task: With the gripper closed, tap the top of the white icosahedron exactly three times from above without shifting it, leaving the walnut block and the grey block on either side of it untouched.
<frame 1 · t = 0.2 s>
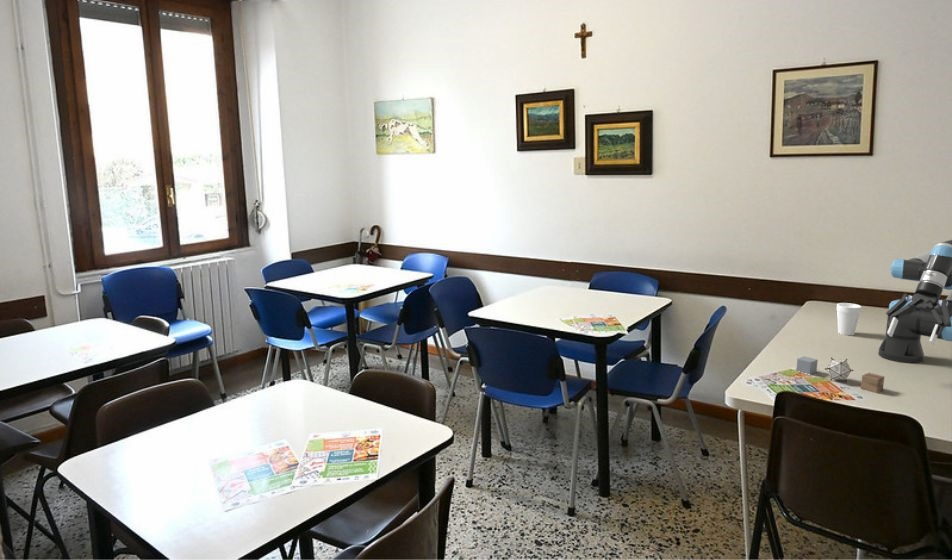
hand: (909, 338, 231), 16 cm above the table, tool tilted 35°, fingers open, 13 cm apart
grey block: (806, 371, 246), on the table
walnut block: (871, 389, 227), on the table
foam cup: (845, 334, 294), on the table
white icosahedron: (837, 380, 236), on the table
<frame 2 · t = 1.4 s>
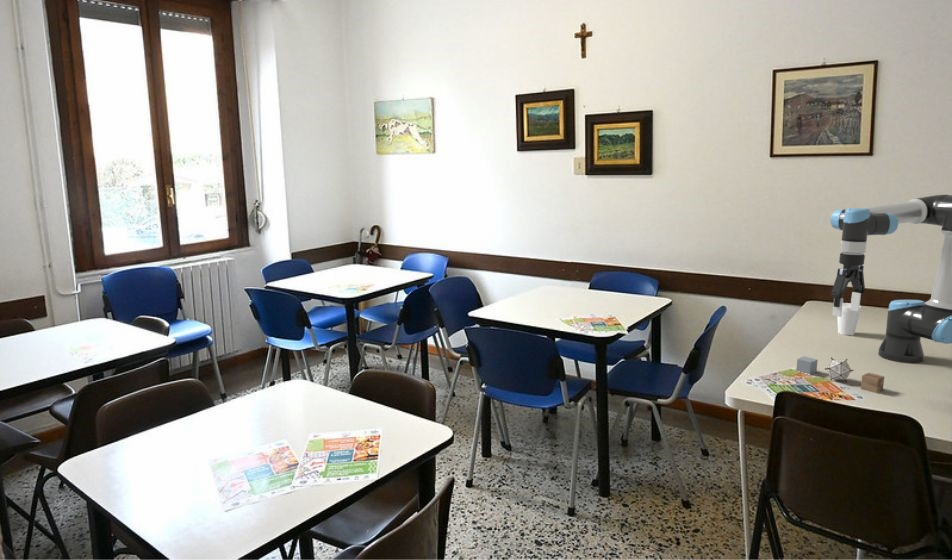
hand: (845, 313, 231), 25 cm above the table, tool pointing down, fingers open, 12 cm apart
nothing on the table moved.
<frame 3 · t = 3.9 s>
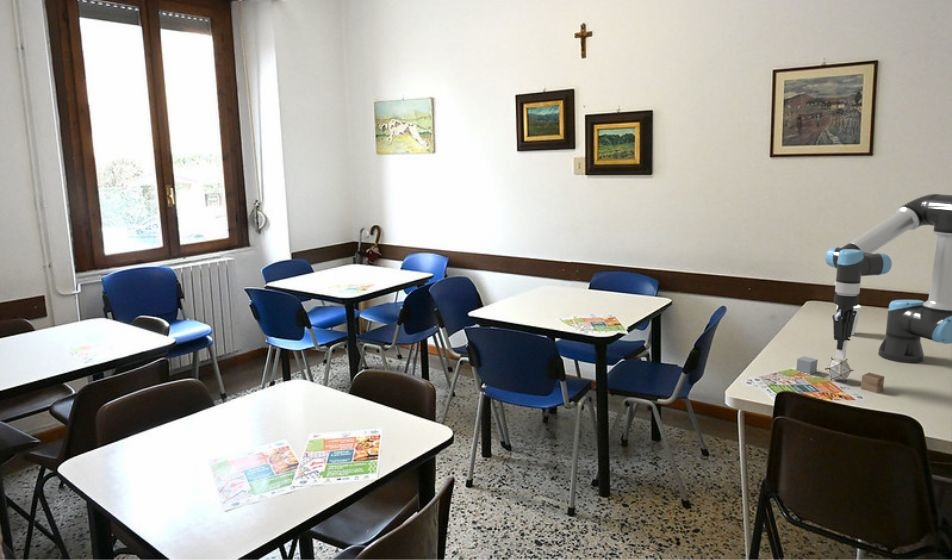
hand: (840, 357, 235), 8 cm above the table, tool pointing down, fingers closed
nothing on the table moved.
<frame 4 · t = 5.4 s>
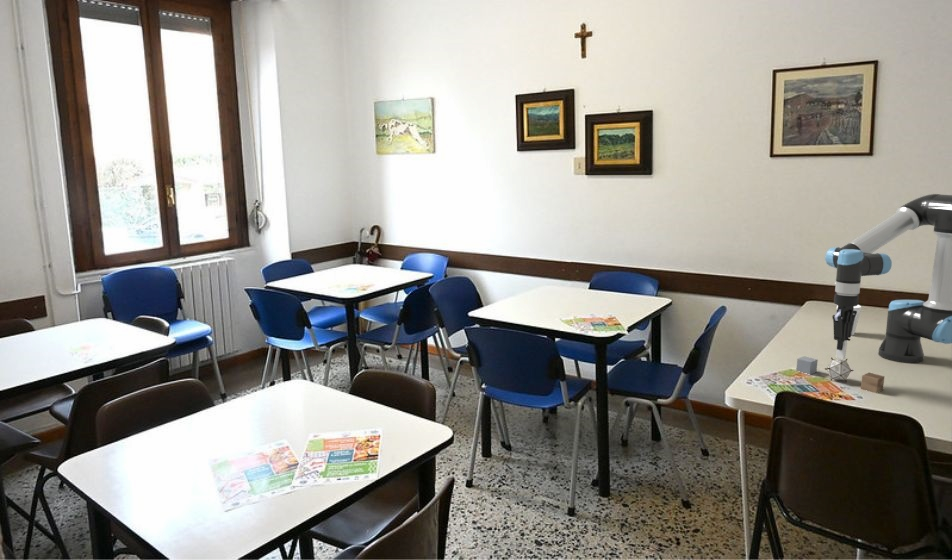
hand: (840, 357, 235), 8 cm above the table, tool pointing down, fingers closed
nothing on the table moved.
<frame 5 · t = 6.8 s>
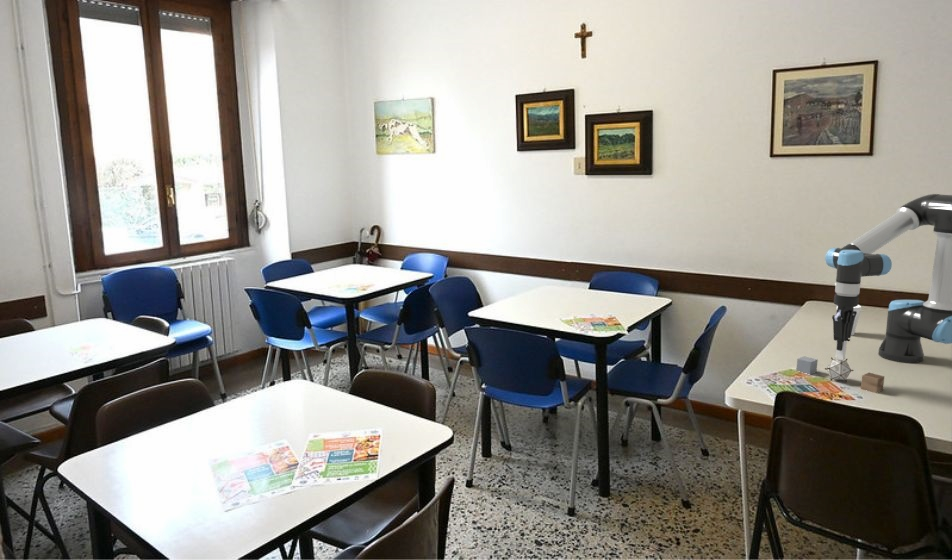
hand: (840, 358, 235), 8 cm above the table, tool pointing down, fingers closed
white icosahedron: (837, 380, 236), on the table, touching gripper
everything else where it was.
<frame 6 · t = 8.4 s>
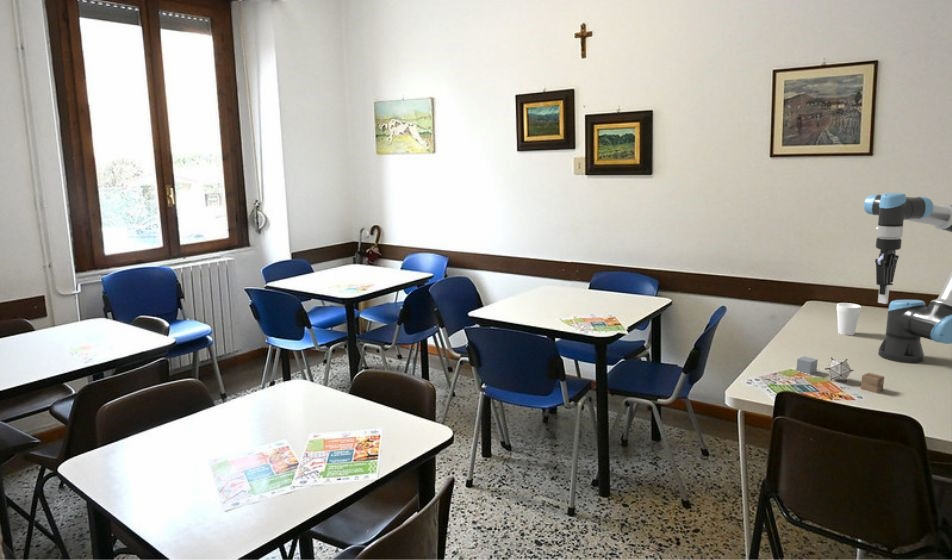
hand: (882, 302, 235), 27 cm above the table, tool pointing down, fingers closed
white icosahedron: (837, 380, 236), on the table
everything else where it was.
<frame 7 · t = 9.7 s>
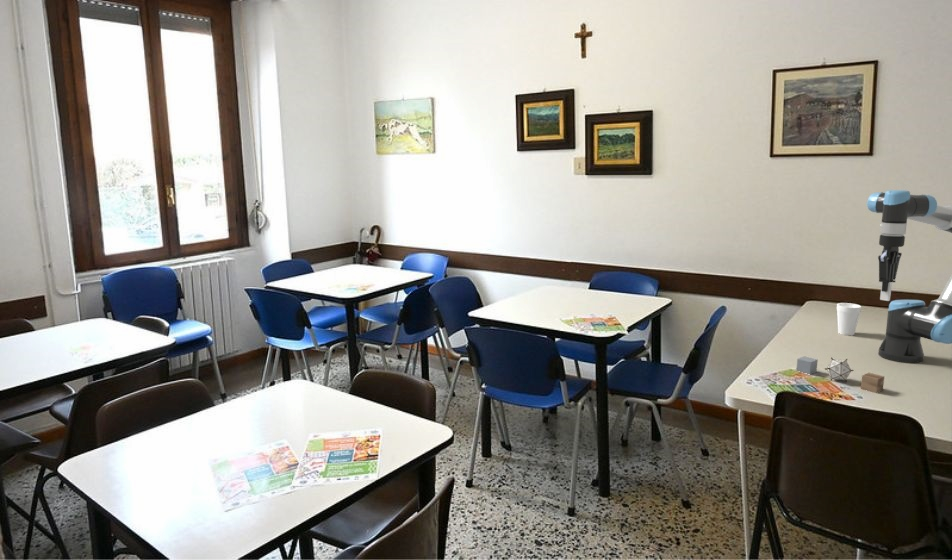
hand: (884, 300, 235), 28 cm above the table, tool pointing down, fingers closed
nothing on the table moved.
at the end: white icosahedron moved 0.2 cm from its start; white icosahedron tilted 0°; walnut block moved 0.1 cm from its start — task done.
